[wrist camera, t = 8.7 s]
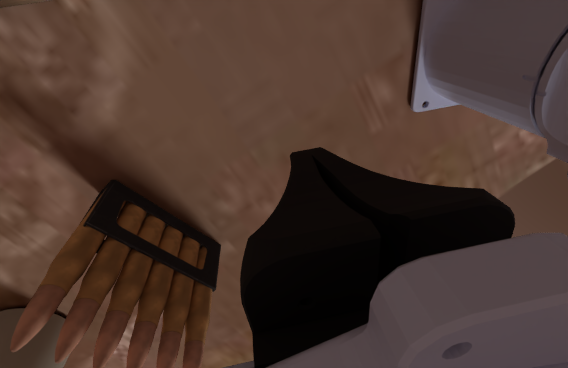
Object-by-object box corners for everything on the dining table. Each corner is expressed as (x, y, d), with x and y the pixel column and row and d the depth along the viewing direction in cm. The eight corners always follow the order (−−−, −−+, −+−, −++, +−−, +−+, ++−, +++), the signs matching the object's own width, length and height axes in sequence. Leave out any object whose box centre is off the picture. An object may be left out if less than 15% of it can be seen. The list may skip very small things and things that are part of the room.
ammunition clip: (99, 193, 21) (-25, 355, 11) (113, 178, 21) (-4, 333, 11) (208, 256, 26) (191, 406, 16) (221, 245, 26) (212, 393, 16)
